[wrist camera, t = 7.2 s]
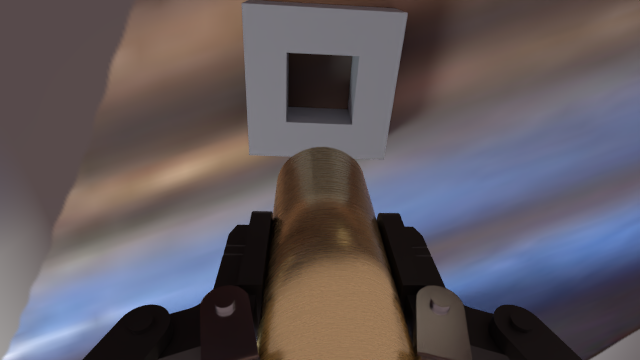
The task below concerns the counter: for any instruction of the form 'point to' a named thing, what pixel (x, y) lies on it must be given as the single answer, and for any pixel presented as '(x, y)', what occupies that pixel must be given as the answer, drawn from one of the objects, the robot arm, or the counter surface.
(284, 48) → the block
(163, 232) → the counter surface
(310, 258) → the brass cylinder
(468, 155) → the counter surface
